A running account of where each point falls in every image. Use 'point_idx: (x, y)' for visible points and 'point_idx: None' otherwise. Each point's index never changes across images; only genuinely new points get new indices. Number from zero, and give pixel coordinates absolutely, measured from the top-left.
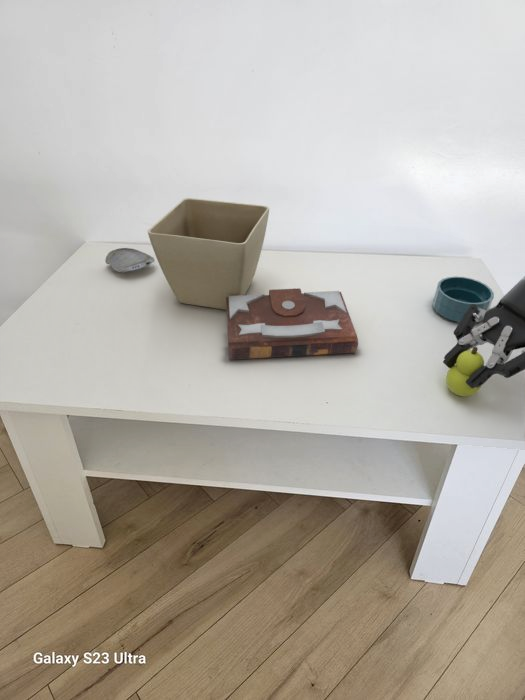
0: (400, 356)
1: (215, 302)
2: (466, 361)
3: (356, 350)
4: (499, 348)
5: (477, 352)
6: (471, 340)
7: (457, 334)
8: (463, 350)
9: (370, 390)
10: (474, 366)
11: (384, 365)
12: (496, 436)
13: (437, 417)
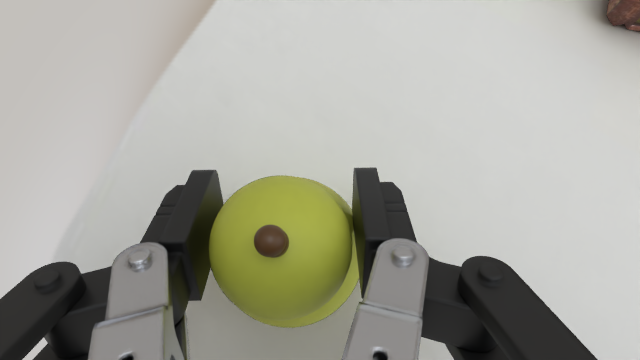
0: (546, 169)
1: None
2: (260, 186)
3: (612, 8)
4: (111, 343)
5: (277, 281)
6: (366, 296)
7: (472, 268)
8: (364, 260)
9: None
10: (220, 213)
11: (513, 84)
12: (75, 218)
13: (225, 97)
